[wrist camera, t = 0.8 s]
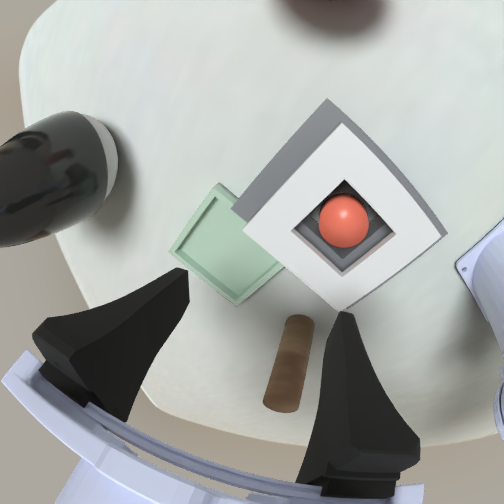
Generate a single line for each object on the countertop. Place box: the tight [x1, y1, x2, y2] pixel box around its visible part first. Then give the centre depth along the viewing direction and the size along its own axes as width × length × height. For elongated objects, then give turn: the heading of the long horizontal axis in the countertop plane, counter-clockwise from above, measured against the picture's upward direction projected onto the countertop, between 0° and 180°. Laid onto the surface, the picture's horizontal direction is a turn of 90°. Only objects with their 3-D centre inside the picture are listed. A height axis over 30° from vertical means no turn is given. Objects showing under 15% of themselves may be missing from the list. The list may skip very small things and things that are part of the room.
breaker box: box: [230, 99, 448, 312], centre depth 17 cm, size 12×10×4 cm
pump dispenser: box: [0, 111, 118, 248], centre depth 16 cm, size 10×10×15 cm
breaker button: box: [319, 193, 369, 248], centre depth 17 cm, size 3×3×2 cm
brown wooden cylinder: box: [263, 315, 314, 413], centre depth 22 cm, size 3×3×9 cm
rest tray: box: [169, 183, 284, 307], centre depth 23 cm, size 8×8×1 cm
